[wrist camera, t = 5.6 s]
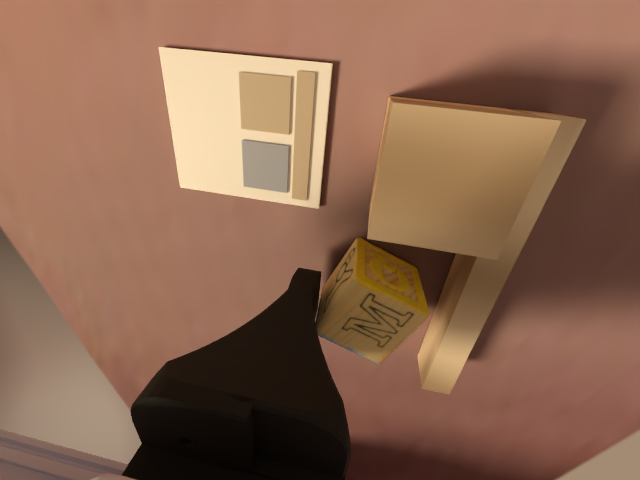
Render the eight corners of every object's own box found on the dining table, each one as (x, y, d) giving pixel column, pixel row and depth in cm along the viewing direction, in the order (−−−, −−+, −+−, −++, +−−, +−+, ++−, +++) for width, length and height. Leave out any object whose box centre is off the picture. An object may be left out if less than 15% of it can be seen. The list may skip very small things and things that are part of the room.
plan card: (319, 206, 12) (318, 209, 12) (183, 186, 13) (178, 188, 12) (333, 63, 9) (331, 63, 9) (162, 47, 10) (156, 46, 10)
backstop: (441, 361, 15) (449, 394, 13) (417, 356, 15) (421, 388, 13) (551, 112, 9) (586, 119, 7) (509, 108, 9) (536, 114, 8)
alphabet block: (321, 284, 13) (311, 336, 11) (355, 233, 12) (354, 279, 9) (378, 311, 14) (381, 367, 11) (418, 265, 12) (433, 318, 10)
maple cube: (464, 210, 11) (497, 260, 8) (370, 196, 11) (367, 238, 8) (501, 107, 9) (561, 120, 6) (389, 95, 10) (392, 102, 7)
